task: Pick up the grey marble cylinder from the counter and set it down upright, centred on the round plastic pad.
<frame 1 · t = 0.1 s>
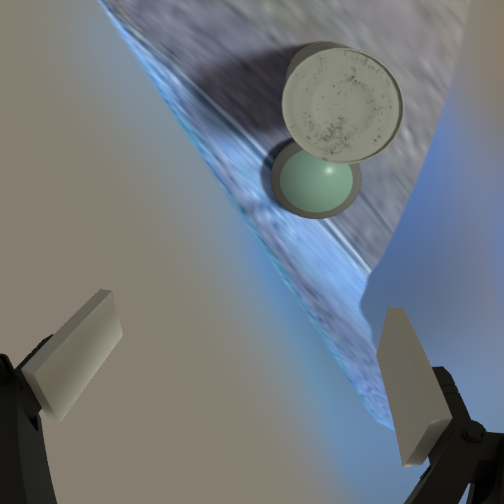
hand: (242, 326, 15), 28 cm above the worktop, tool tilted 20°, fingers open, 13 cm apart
grey marble cylinder: (328, 81, 31), on the worktop
pad: (315, 175, 39), on the worktop
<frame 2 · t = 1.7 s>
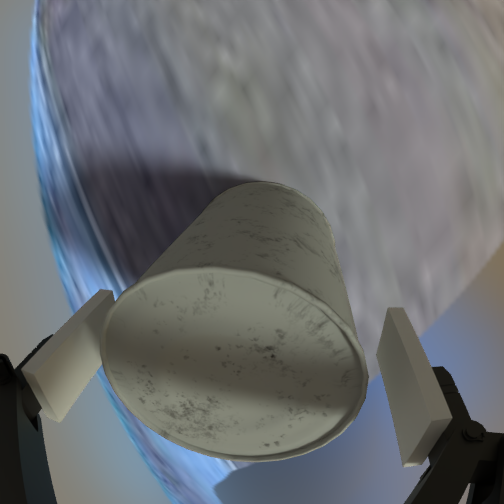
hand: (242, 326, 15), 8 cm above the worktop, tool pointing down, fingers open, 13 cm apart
grey marble cylinder: (263, 252, 22), on the worktop
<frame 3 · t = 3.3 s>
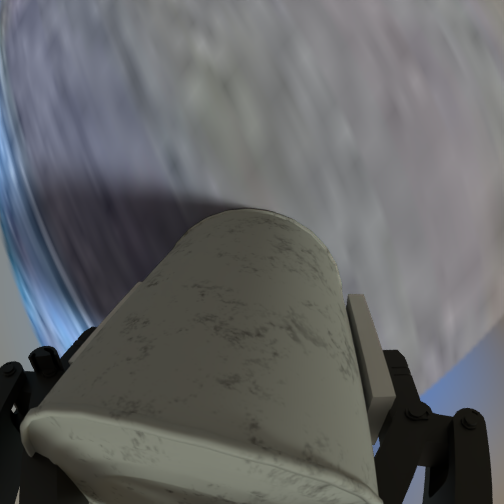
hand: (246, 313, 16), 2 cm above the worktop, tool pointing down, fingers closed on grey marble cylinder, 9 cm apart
grey marble cylinder: (251, 295, 17), on the worktop, touching gripper
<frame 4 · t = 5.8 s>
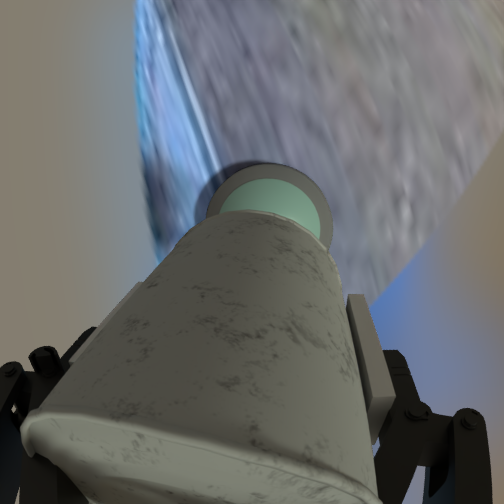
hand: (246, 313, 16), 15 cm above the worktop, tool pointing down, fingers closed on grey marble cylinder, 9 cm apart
grey marble cylinder: (251, 296, 17), point 13 cm above the worktop, touching gripper
pad: (269, 224, 29), on the worktop
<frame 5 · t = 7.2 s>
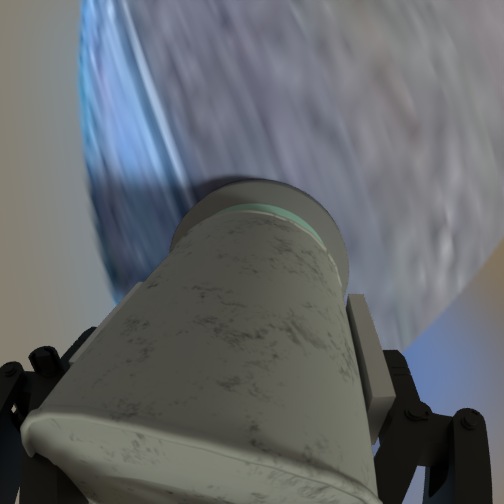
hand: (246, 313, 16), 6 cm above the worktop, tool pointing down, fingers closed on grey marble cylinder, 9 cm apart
grey marble cylinder: (251, 296, 17), point 4 cm above the worktop, touching gripper
pad: (259, 265, 21), on the worktop
when the fingers open (5 cm above the worktop, at t = 8.4 s): grey marble cylinder drops 1 cm, resting on pad.
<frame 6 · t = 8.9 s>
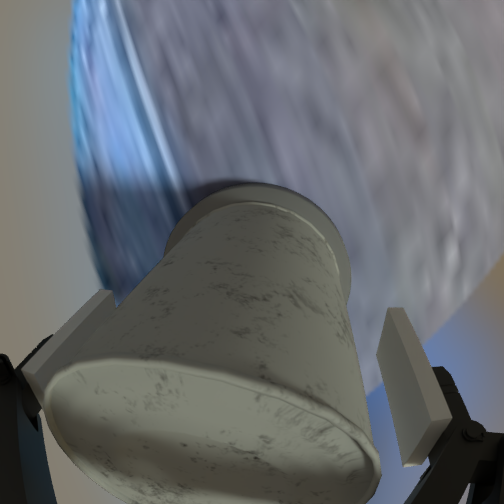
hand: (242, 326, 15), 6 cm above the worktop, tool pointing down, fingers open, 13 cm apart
grey marble cylinder: (254, 283, 18), point 1 cm above the worktop, touching pad
pad: (257, 273, 20), on the worktop
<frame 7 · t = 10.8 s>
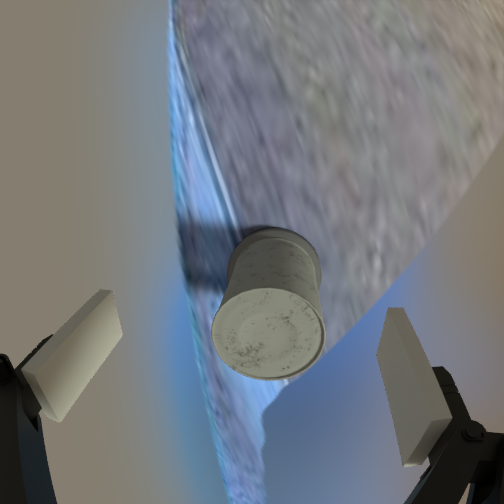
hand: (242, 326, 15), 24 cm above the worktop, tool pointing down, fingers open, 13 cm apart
grey marble cylinder: (274, 276, 38), point 1 cm above the worktop, touching pad
pad: (274, 271, 39), on the worktop
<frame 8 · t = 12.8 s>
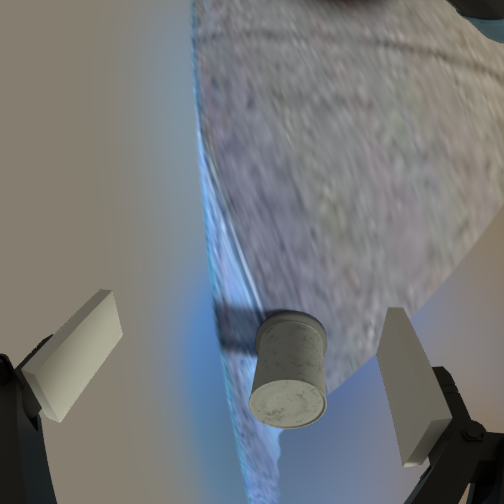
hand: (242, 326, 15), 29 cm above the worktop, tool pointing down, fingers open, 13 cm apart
grey marble cylinder: (291, 346, 48), point 1 cm above the worktop, touching pad
pad: (291, 340, 49), on the worktop
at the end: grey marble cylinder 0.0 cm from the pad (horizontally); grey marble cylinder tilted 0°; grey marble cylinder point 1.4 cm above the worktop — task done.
